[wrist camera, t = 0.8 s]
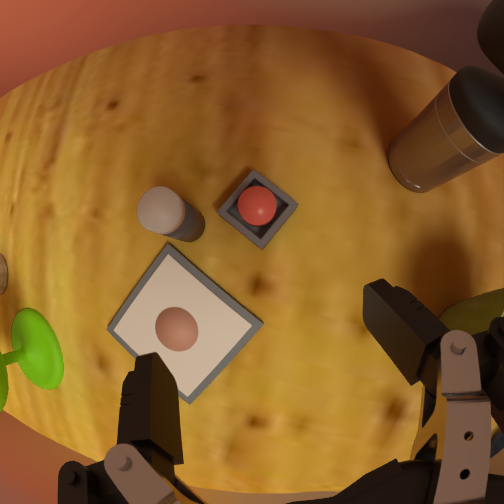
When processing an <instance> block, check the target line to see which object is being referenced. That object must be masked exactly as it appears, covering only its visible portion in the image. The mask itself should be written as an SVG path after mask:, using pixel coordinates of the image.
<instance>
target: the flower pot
mask: <svg viewBox="0 0 504 504" xmlns="http://www.w3.org/2000/svg"><path fill="white" fill-rule="evenodd" d="M496 317H504V288H502V289H498V290H494V291H491V292H487V293H484V294H481V295H478V296H475V297H472V298H469V299H467V300H464V301H462V302H460V303H457V304H455V305H453V306H451V307H449V308H448V309H446V310H445V311H444V312H443V313H442V315H441V316H440V318H439V320H440V321H441V322H442V323H443V324H444V325H445V326H446V327H447V328H448V329H449V330H450V331H453V330H460V331H464V332H466V333H468V334H470V335H474V334H477V333H480V332H483V331H486V330H488V328H489V325H490V323H491V321H492V320H493V319H494V318H496ZM500 369H501V370H502V371H503V373H504V365H502V367H501V368H500Z"/></svg>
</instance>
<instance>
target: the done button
mask: <svg viewBox="0 0 504 504" xmlns="http://www.w3.org/2000/svg"><path fill="white" fill-rule="evenodd" d="M276 206H277V204H276V199H275V196H274V195H273V193H272V192H271V191H270V190H268V189H267V188H265V187H261V186H253V187H250V188H248V189H246V190H245V191H243V192H242V194H241V195H240V197H239V199H238V211H239V213H240V215H241V217H242V219H243V220H244V221H245V222H246V223H247V224H249V225H251V226H254V227H262V226H265V225H267V224H268V223H270V222H271V221H272V219H273V218H274V216H275V213H276Z"/></svg>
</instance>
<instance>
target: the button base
mask: <svg viewBox="0 0 504 504" xmlns="http://www.w3.org/2000/svg"><path fill="white" fill-rule="evenodd" d="M253 186H261V187H265V188H267V189H268V190H270V191H271V192H272V193H273V195H274V196H275V199H276V204H277V206H276V213H275V216H274V218H273V219H272V221H271V222H270V223H268V224H267V225H265V226H262V227H254V226H251V225H249V224H247V223H246V222H245V221H244V220H243V219H242V217H241V215H240V213H239V211H238V199H239V197H240V195H241V194H242V192H243V191H245V190H246V189H248V188H250V187H253ZM297 206H298V203H297V202H296V201H295V200H293V199H292V198H291V197H289V196H288V195H287V194H286V193H284V192H283V191H282V190H280V189H279V188H278V187H276V186H275V185H274V184H273V183H271V182H270V181H269V180H267V179H266V178H265V177H263V176H262V175H261V174H259V173H258V172H257V171H255V170H254V169H253V170H252V171H251V173H250V174H249V175H248V176H247V177H246V178H245V179H244V181H243V182H242V183H241V184H240V185H239V186H238V188H237V189H236V190H235V191H234V192H233V193H232V195H231V196H230V197H229V198H228V199H227V201H226V202H225V203H224V204H223V205H222V207H221V208H220V209H219V210H218V211H217V213H218V214H219V216H220V217H222V218H223V219H224V220H225V221H227V222H228V223H229V224H230V225H232V226H233V227H234V228H235V229H237V230H238V231H239V232H240V233H241V234H243V235H244V236H245V237H246V238H248V239H249V240H250V241H251V242H253V243H254V244H255V245H256V246H257V247H259V248H260V249H261V250H263V249H264V248H265V246H266V245H267V244H268V243H269V241H270V240H271V239H272V238H273V237H274V235H275V234H276V233H277V232H278V230H279V229H280V228H281V227H282V225H283V224H284V223H285V222H286V221H287V219H288V218H289V217H290V216H291V214H292V213H293V212H294V211H295V209H296V208H297Z"/></svg>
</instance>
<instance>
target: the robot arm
mask: <svg viewBox="0 0 504 504" xmlns="http://www.w3.org/2000/svg"><path fill="white" fill-rule="evenodd" d="M477 38H478V43H479V45H480V47H481V50H482V51H483V53H484V54H485V55H486V56H487V57H488V59H489V60H490V61H491V62H492V63H493V64H494V65H495V66H496V67H497V68H498V69H499V70H500V71H501V72H502V73H503V74H504V0H492V1H491V3H490V4H489V5H488V6H487V8H486V10H485V11H484V13H483V15H482V17H481V19H480V21H479V25H478V30H477ZM502 153H504V77H501V76H499V75H496V74H494V73H491V72H489V71H487V70H485V69H482V68H480V67H475V66H466V67H464V68H462V69H460V70H459V71H458V72H457V73H456V74H455V75H454V76H453V78H452V79H451V80H450V81H449V82H448V83H447V84H446V86H445V87H444V88H443V89H442V90H441V91H440V92H439V93H438V94H437V95H436V97H435V98H434V99H433V100H432V101H431V102H430V103H429V104H428V105H427V106H426V107H425V108H424V109H423V110H422V111H421V112H420V114H419V115H418V116H417V117H416V118H415V119H414V120H413V121H412V122H411V123H410V124H409V125H408V126H407V127H406V128H405V129H404V130H403V131H402V132H401V133H400V134H399V135H398V136H397V137H396V139H395V140H394V141H393V142H392V143H391V145H390V147H389V151H388V160H389V164H390V168H391V170H392V172H393V174H394V176H395V177H396V179H397V180H398V181H399V182H400V183H401V184H402V185H403V186H404V187H406V188H407V189H409V190H411V191H413V192H417V193H423V192H427V191H429V190H431V189H433V188H435V187H437V186H439V185H442V184H444V183H446V182H448V181H450V180H452V179H454V178H456V177H458V176H460V175H462V174H464V173H466V172H468V171H469V170H471V169H473V168H475V167H477V166H479V165H481V164H483V163H485V162H487V161H489V160H491V159H493V158H494V157H496V156H498V155H500V154H502ZM363 320H364V323H365V325H366V327H367V329H368V330H369V331H370V333H371V334H372V335H373V336H374V338H375V339H376V340H377V342H378V343H379V344H380V345H381V347H382V348H383V349H384V351H385V352H386V353H387V355H388V356H389V357H390V358H391V360H392V361H393V362H394V364H395V365H396V366H397V368H398V369H399V370H400V372H401V373H402V374H403V376H404V377H405V378H406V380H407V381H408V382H409V384H410V385H411V386H412V385H413V384H415V383H416V382H418V381H421V382H422V383H423V387H422V397H421V408H420V417H419V425H418V431H417V435H416V438H415V440H414V443H413V446H412V450H411V455H410V460H408V461H403V462H399V463H398V461H397V459H394V460H392V461H390V462H388V463H387V464H385V465H383V466H381V467H379V468H377V469H375V470H373V471H371V472H369V473H367V474H365V475H364V476H362V477H361V478H360V479H358V480H357V481H356V482H354V483H353V484H351V485H350V486H349V487H347V488H346V489H344V490H343V491H341V492H340V493H338V494H337V495H335V496H333V497H329V498H323V499H315V500H307V501H296V502H290V503H287V504H504V476H502V475H495V474H488V471H489V461H490V446H491V415H492V417H493V418H494V420H495V422H496V423H497V425H498V426H499V428H500V429H501V431H502V432H503V434H504V373H503V371H502V370H501V369H500V368H501V367H502V365H504V317H496V318H494V319H493V320H492V321H491V323H490V325H489V328H488V330H486V331H483V332H480V333H477V334H474V335H470V334H468V333H466V332H464V331H460V330H453V331H450V330H449V329H448V328H447V327H446V326H445V325H444V324H443V323H442V322H441V321H440V320H439V319H438V318H437V317H436V316H435V315H434V314H433V313H432V312H431V311H430V310H429V309H427V308H426V307H424V305H423V304H422V303H421V302H420V301H419V300H417V298H416V297H415V296H413V295H412V294H411V293H410V292H409V291H407V290H405V289H403V288H401V287H398V286H395V287H392V286H391V285H390V284H389V283H388V282H387V281H386V280H385V279H379V280H376V281H374V282H371V283H369V284H367V285H365V286H364V289H363ZM121 395H122V397H121V403H120V405H121V407H120V412H119V423H118V437H117V444H116V445H115V446H114V447H112V448H111V449H110V450H109V451H108V452H107V454H106V456H105V460H103V461H100V462H97V463H94V464H91V465H88V466H83V465H82V464H80V463H79V462H76V461H69V462H67V463H65V464H64V465H63V466H62V467H61V469H60V471H59V476H58V504H208V503H207V502H206V501H204V500H203V499H202V498H201V497H200V496H199V495H197V494H196V493H195V492H194V491H193V490H192V489H191V488H189V487H188V486H187V485H186V484H185V483H184V482H183V481H182V480H181V479H180V478H179V477H178V476H177V475H176V474H175V472H174V465H178V464H184V461H183V451H182V441H181V429H180V415H179V398H178V387H177V383H176V380H175V378H174V376H173V374H172V373H171V372H170V370H169V369H168V367H167V366H166V364H165V363H164V362H163V360H162V359H161V357H160V356H159V354H158V353H157V352H152V353H148V354H144V355H139V356H137V357H136V361H135V369H134V371H130V372H128V374H127V376H126V378H125V380H124V382H123V386H122V394H121Z"/></svg>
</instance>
